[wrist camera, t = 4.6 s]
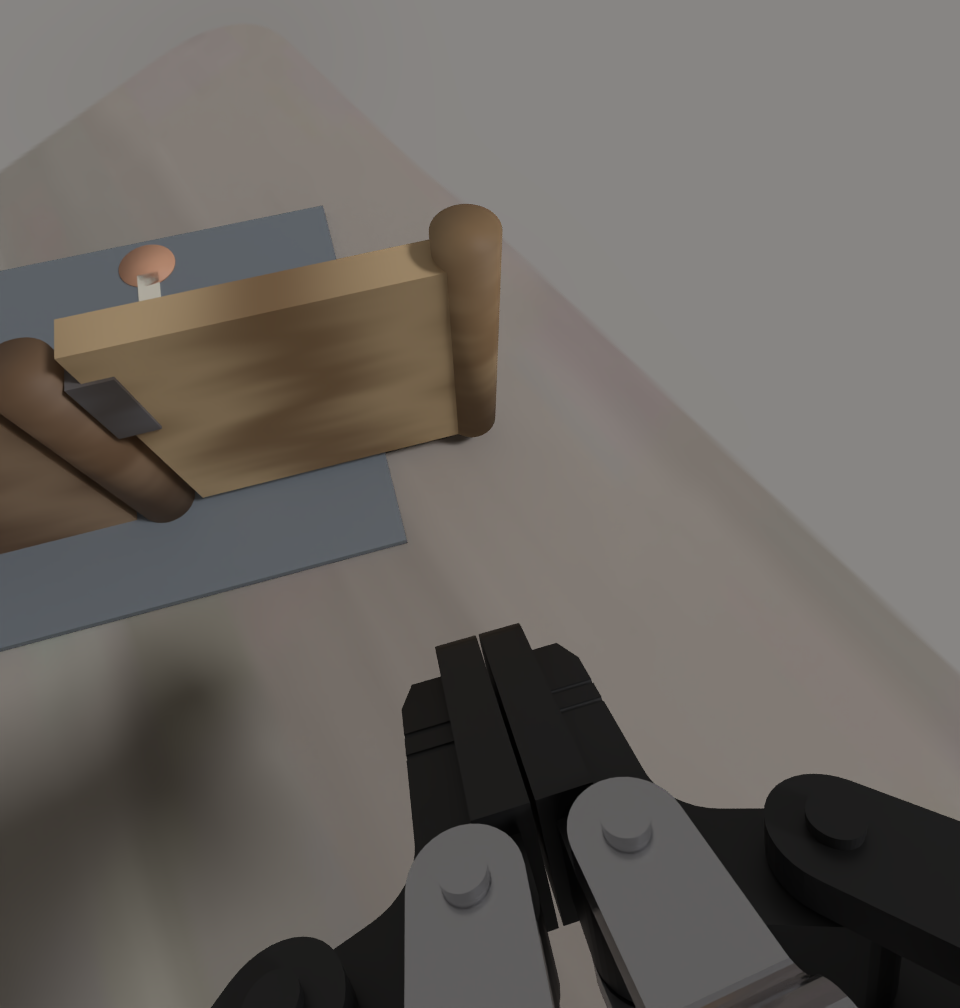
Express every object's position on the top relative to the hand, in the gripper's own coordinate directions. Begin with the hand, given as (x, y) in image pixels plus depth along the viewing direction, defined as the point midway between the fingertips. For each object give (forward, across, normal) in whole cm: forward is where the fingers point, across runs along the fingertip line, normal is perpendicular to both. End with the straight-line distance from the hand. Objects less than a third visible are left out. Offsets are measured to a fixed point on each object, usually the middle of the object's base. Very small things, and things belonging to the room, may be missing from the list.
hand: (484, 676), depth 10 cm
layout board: (+17, +9, -4) cm, 19 cm away
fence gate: (+13, +2, -1) cm, 14 cm away
